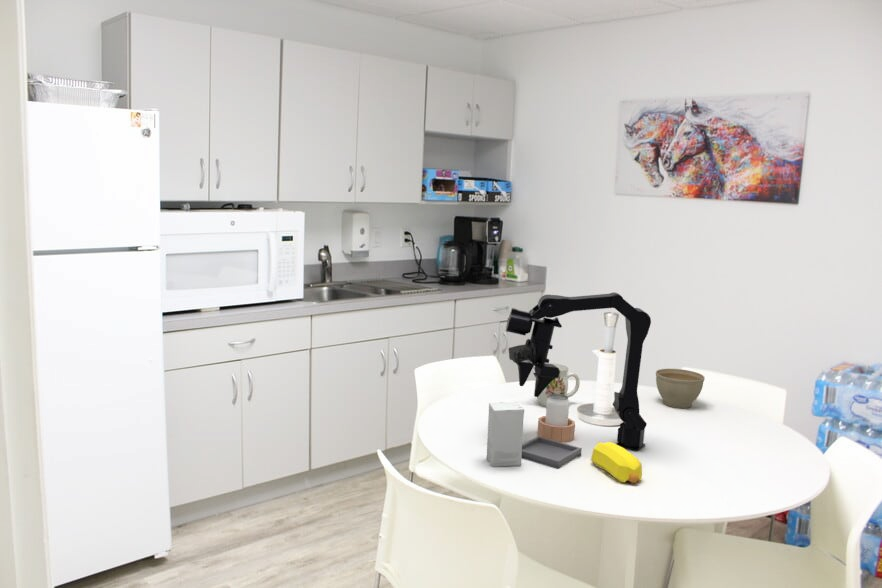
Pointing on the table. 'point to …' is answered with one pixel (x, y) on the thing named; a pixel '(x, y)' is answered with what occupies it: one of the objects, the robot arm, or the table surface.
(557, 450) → the tray
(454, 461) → the table surface
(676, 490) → the table surface
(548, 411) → the can
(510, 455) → the skincare box
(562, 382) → the pitcher
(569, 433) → the ring
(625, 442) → the robot arm
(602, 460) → the yellow faceted block
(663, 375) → the planter bowl
